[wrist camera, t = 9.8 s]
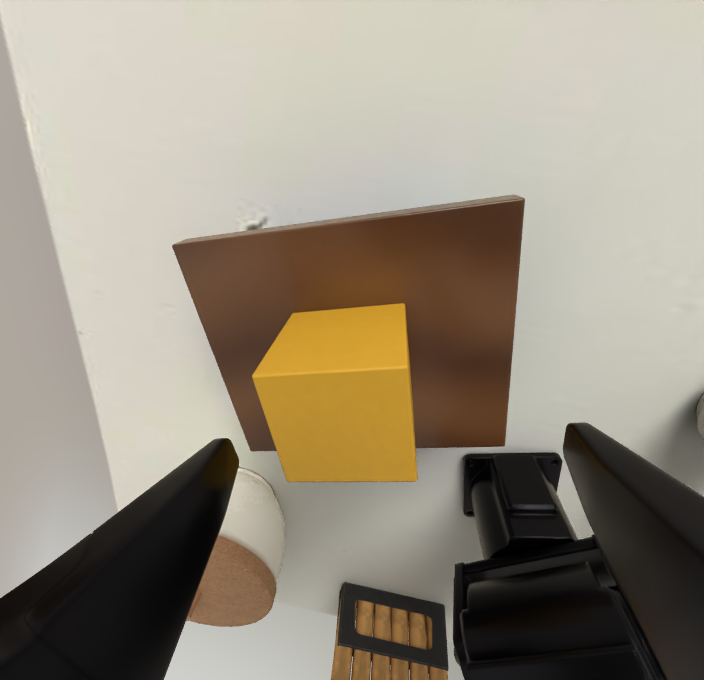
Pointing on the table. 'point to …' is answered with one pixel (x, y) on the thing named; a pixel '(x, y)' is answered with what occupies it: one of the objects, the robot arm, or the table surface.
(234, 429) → the table surface
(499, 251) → the board
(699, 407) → the energy drink can
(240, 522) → the trinket box
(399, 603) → the ammunition clip
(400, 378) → the yellow block
